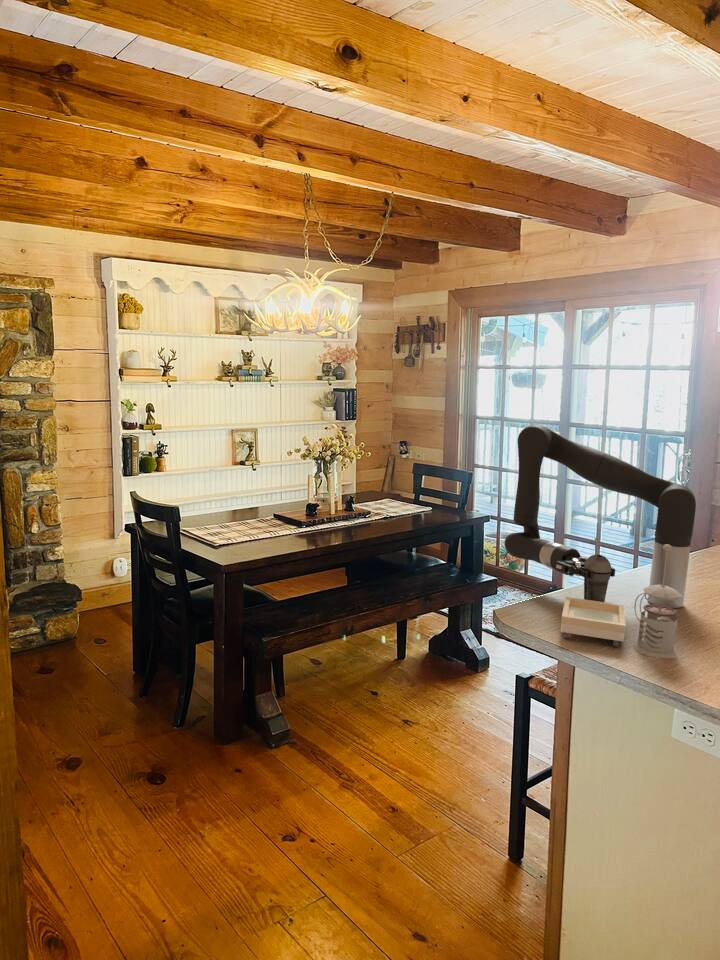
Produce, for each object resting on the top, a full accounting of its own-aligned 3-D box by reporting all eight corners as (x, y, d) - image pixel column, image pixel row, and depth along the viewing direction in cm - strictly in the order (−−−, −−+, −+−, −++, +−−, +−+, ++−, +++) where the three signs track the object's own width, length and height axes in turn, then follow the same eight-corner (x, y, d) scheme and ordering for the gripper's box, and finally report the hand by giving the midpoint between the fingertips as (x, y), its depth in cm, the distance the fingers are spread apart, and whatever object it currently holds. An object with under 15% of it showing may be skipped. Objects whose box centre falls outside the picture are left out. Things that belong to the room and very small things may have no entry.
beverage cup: (609, 618, 183) (617, 543, 180) (580, 615, 185) (587, 540, 182) (605, 609, 190) (613, 536, 187) (577, 606, 192) (584, 534, 189)
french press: (655, 660, 157) (668, 551, 153) (617, 641, 167) (628, 538, 163) (688, 655, 161) (701, 548, 157) (648, 637, 171) (660, 536, 167)
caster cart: (563, 618, 181) (565, 596, 180) (621, 627, 177) (623, 605, 176) (559, 639, 166) (561, 616, 165) (622, 649, 162) (625, 625, 161)
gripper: (540, 546, 195) (583, 562, 180) (580, 543, 201) (625, 558, 186) (538, 572, 196) (580, 590, 181) (577, 568, 202) (622, 585, 188)
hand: (603, 574), depth 184 cm, fingers closed on beverage cup, 7 cm apart
